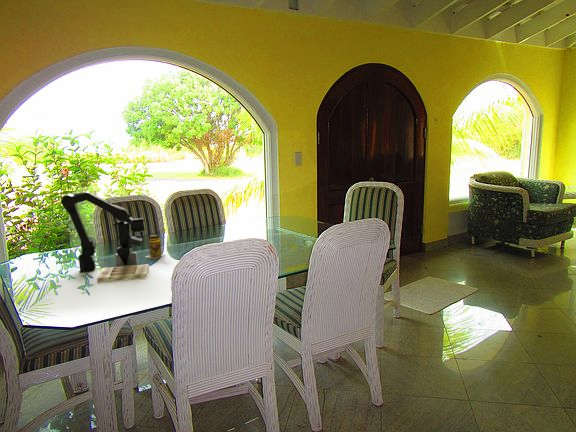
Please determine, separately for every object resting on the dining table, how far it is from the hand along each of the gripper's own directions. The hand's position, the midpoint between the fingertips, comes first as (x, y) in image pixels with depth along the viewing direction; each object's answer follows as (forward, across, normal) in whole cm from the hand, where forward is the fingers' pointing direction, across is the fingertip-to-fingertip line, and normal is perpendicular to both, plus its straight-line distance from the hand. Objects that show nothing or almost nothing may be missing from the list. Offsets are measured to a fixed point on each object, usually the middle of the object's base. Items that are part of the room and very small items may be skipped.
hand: (126, 262), depth 236 cm
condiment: (+2, +14, -13) cm, 19 cm away
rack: (+2, -14, 0) cm, 14 cm away
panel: (+2, 0, 0) cm, 2 cm away
